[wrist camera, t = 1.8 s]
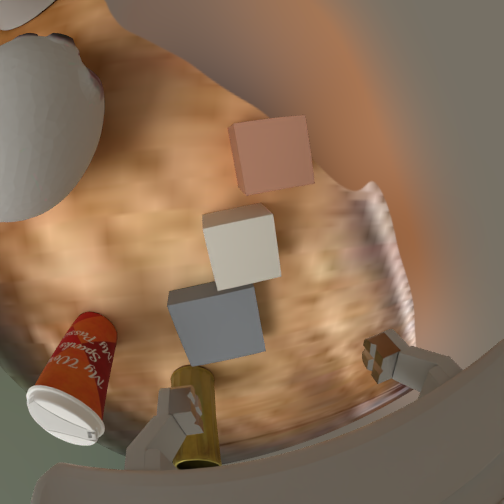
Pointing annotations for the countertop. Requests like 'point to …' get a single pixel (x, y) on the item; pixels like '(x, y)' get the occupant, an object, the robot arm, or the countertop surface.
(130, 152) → the countertop surface
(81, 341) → the coffee cup
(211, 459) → the vase
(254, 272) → the brick
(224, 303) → the base
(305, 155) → the brick
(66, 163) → the toy
